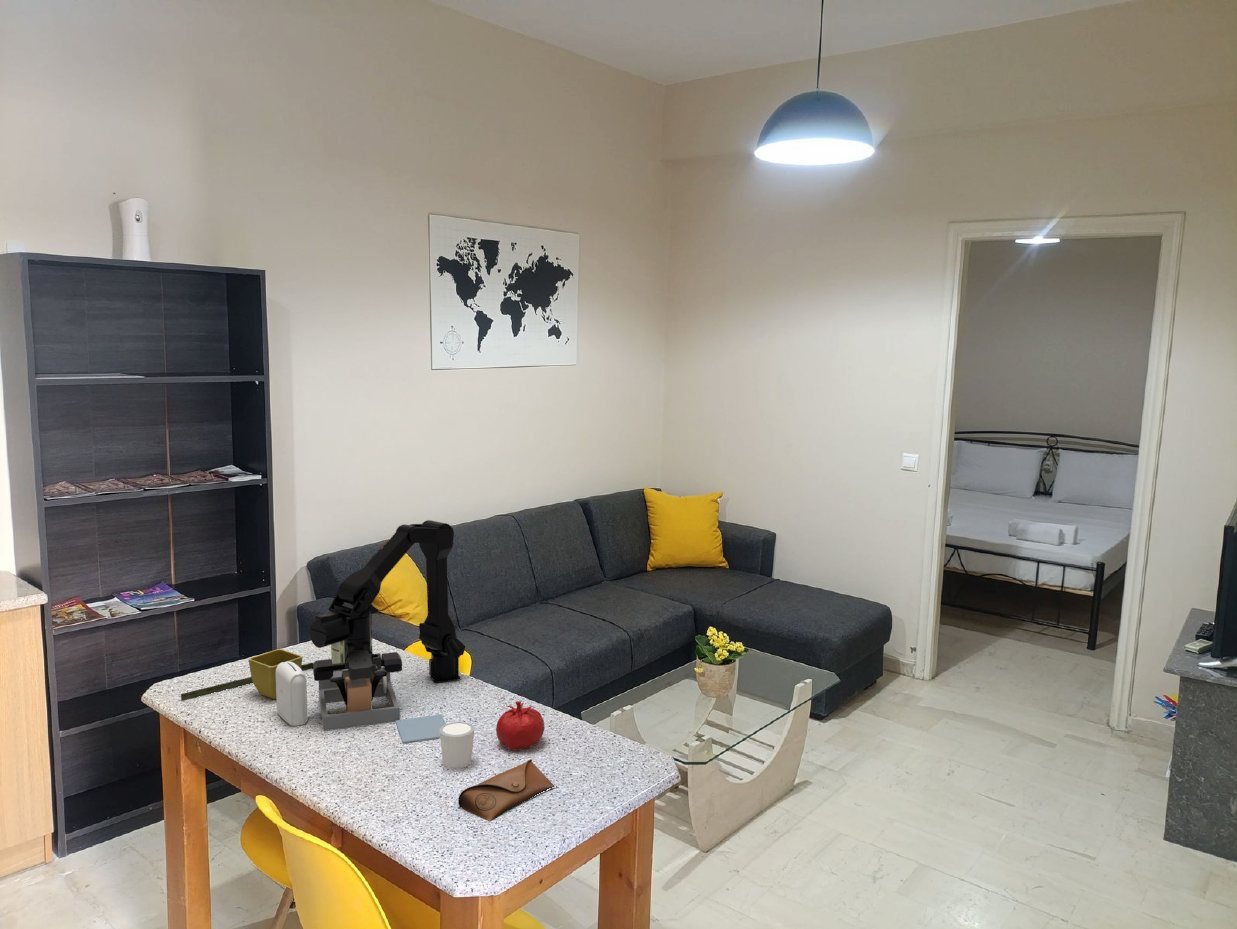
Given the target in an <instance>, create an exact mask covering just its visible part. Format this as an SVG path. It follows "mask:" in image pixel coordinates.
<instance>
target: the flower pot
mask: <svg viewBox="0 0 1237 929" xmlns="http://www.w3.org/2000/svg"><path fill="white" fill-rule="evenodd" d="M247 660H248V664H249V665H248V666H249V670H250V675H251V676H250V677H252V681H253V685H254V687H255V689H256V690H257V691H258V692H259V694H260V695H262V696H264V697H267V698H270V699H273V700H275V699H276V700H277V698H276V668H277V666H278V665H279V664H280V663H282V662H286V661H289V662H293V663H295V664H296V665H298V666H299V667H300V668H301V666H302V665H303V656H302V655H300V654H297V653H294V652H291V651H289V650H285V649H281V648H276V649H274V650H271V651H268V652H264V653H262V654H259V655H256V656H252V657H250V658H248V659H247Z"/></svg>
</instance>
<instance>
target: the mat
mask: <svg viewBox="0 0 1237 929" xmlns="http://www.w3.org/2000/svg"><path fill="white" fill-rule="evenodd" d="M445 724H447V723H446V722H445V719H444V717H443V715H442V713H441V714H434V715H426V716H419V717H412V718H411V717H410V718H405V719H400V720H396V721H395V725H396V728H397V731H398V734H399V737H400V739H401V743H402V744H410V743H416V742H424V741H430V740H436V739H437V740H438V739H440V730H439V729H440V728H441V727H442V726H443V725H445Z"/></svg>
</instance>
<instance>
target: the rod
mask: <svg viewBox="0 0 1237 929" xmlns="http://www.w3.org/2000/svg"><path fill="white" fill-rule="evenodd" d="M313 663H314V662H308V663H305V664H302V666H301V670H302V671H303V672H306V671H308V670H309V671H310V670H313ZM250 683H253V681H252V677H251V676H249V677H245V678H241V679H237V680H234V681H233V680H232V681H229V682H226V683H221V684H220V683H219V684H217V685H212V686H208V687H203V688H199V689H196V690H192V691H187V692H183V693H180V701H182V702H183V701H187V700H191V699H194V698H199V696H200V697H204V696H207V695H212V694H215V693H214V692H216V693H219V692H224V691H227V690H226V689H229V690H232V688H233V689H235V688H236V687H237V688H239V687H238V686H241V687H243V686H242V685H245V686H247V685H246V684H249V685H251V684H250ZM253 684H254V683H253ZM223 690H224V691H223ZM211 693H212V694H211Z"/></svg>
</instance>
